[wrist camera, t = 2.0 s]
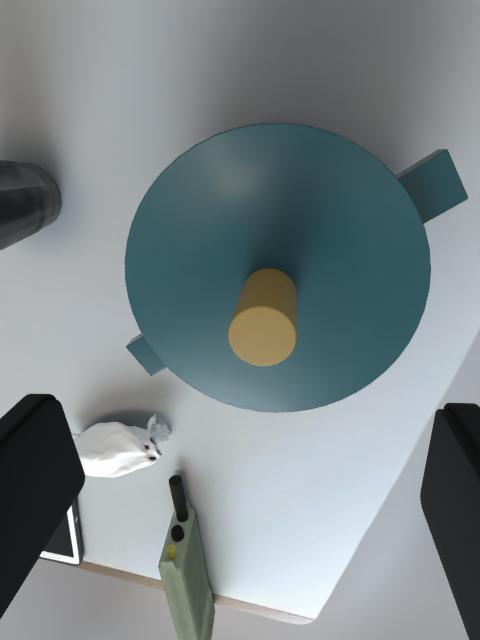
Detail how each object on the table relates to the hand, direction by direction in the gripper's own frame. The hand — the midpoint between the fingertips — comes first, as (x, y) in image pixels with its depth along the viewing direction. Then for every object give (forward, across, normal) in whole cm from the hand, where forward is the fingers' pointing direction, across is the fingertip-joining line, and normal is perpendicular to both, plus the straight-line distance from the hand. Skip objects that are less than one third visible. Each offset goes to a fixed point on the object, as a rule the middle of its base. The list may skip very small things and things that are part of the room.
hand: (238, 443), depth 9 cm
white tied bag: (+20, +16, +18) cm, 31 cm away
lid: (+10, 0, 0) cm, 10 cm away
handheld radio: (+20, +11, +35) cm, 42 cm away
